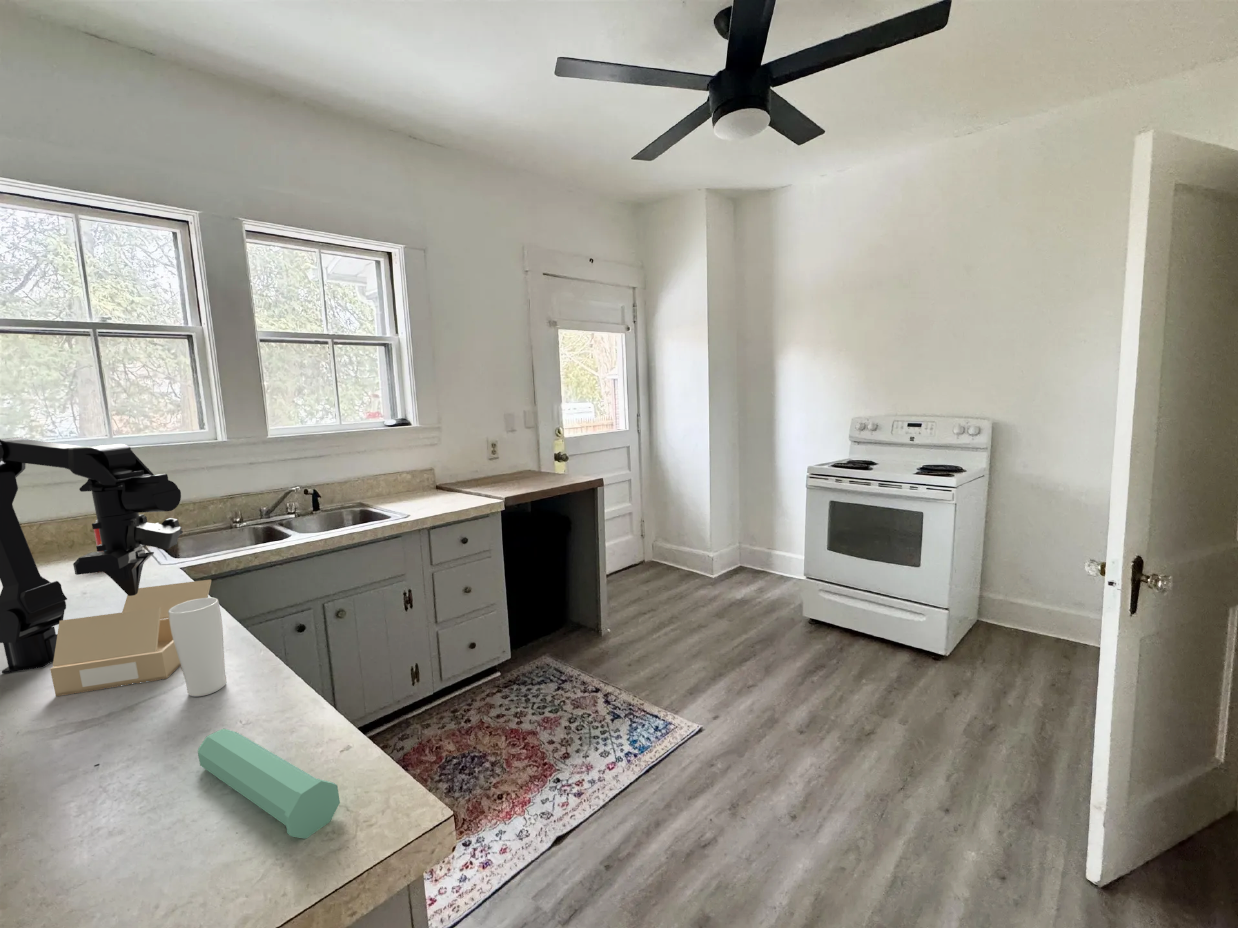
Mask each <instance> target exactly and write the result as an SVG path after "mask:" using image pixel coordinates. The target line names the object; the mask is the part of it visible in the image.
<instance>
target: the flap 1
mask: <svg viewBox="0 0 1238 928" xmlns="http://www.w3.org/2000/svg"><path fill="white" fill-rule="evenodd" d="M160 614H161V608H152V609H145V610H137V611H130V612H114V613H108V614H107V613H106V614H100V615H93V616H84V617H79V618H78V617H77V618H76V617H75V618H70V619H63V620H61V621H59V624H58V629H57V633H56V634H57V641H56V648H55V654H54V661H53V662H52V667H54V666H61V665H68V664H75V663H82V662H88V661H95V660H102V659H109V658H115V657H122V656H129V655H136V654H142V653H149V652H156V651H157V645H158V635H159V624H160Z"/></svg>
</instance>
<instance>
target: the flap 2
mask: <svg viewBox="0 0 1238 928" xmlns="http://www.w3.org/2000/svg"><path fill="white" fill-rule="evenodd" d="M211 584H212V579H205V580H203V579H202V580H194V581H186V582H178V583H171V584H163V585H155V586H147V587H139V588H138V593H137V594H136V595H133V596H128V595H127V594H126V595H127V596H126V599H125V601H124V606H123V608H122V612H130V611H137V610H145V609H152V608H161V614H160V619H168V618H169V613H168V611H169V609H170V608H172V607H174V606H176V605H178V604H180V603H183V602H187V601H190V600H195V599H200V598H209V593H210V590H211ZM122 612H121V613H122Z"/></svg>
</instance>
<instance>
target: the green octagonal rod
mask: <svg viewBox="0 0 1238 928" xmlns="http://www.w3.org/2000/svg"><path fill="white" fill-rule="evenodd" d="M197 756H198V760H199V766H201V767H202V768H203V769H205V771H207V772H209V773H210V774H212V775H213V776H214V777H216V778H217V779H219V780H220V781H222V782H223V783H224V784H226V785H227V786H229V787H230V788H231V789H233V790H234V791H236V792H238V793H239V794H240V795H241V796H243V797H244V798H246V799H248V800H249V801H251V802H252V803H253V804H254V805H256V806H257V807H259V808H260V809H262V810H263V811H264V812H266V813H267V814H268V815H270V816H271V817H273V818H275V819H276V820H277V821H279V822H280V823H282V824H283V825H284V826H285V827H286V833H287V835H289V836H290V837H294V838H299V839H304V840H305V839H308V838H309V837H311V836H312V835H313V834H315V833H316V832H318V831H319V830H321V828H323V827H325V826H326V825H328V824H329V823H331V822H332V819H333V817H334V815H335V813H336V811H337V809H338V808H339V805H340V803H341V799H340V793H339V788H338V784H336V783H335V782H332V781H329V780H325V779H320V778H316V777H315V776H313V775H311V774H310V773H308V772H306V771H305V770H302V769H301V768H299V767H298V766H296V765H294V764H292V763H291V762H289V761H287V760H286V759H283V758H282V757H281V756H278V754H275V753H273V752H272V751H270V750H269V749H267V748H265V747H263V746H262V745H259V744H258V743H256V742H254V741H253V740H251V739H249V738H248V737H246V736H244V735H243V734H240V733H239V732H237V731H233V730H230V729H227V728H222V729H219V730H217V731H214V732H213V733H211V734H209V735H207V736H206V737H205V738H204V739H203V741H202V743H201V744H200V746H199V747H198V749H197Z"/></svg>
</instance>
